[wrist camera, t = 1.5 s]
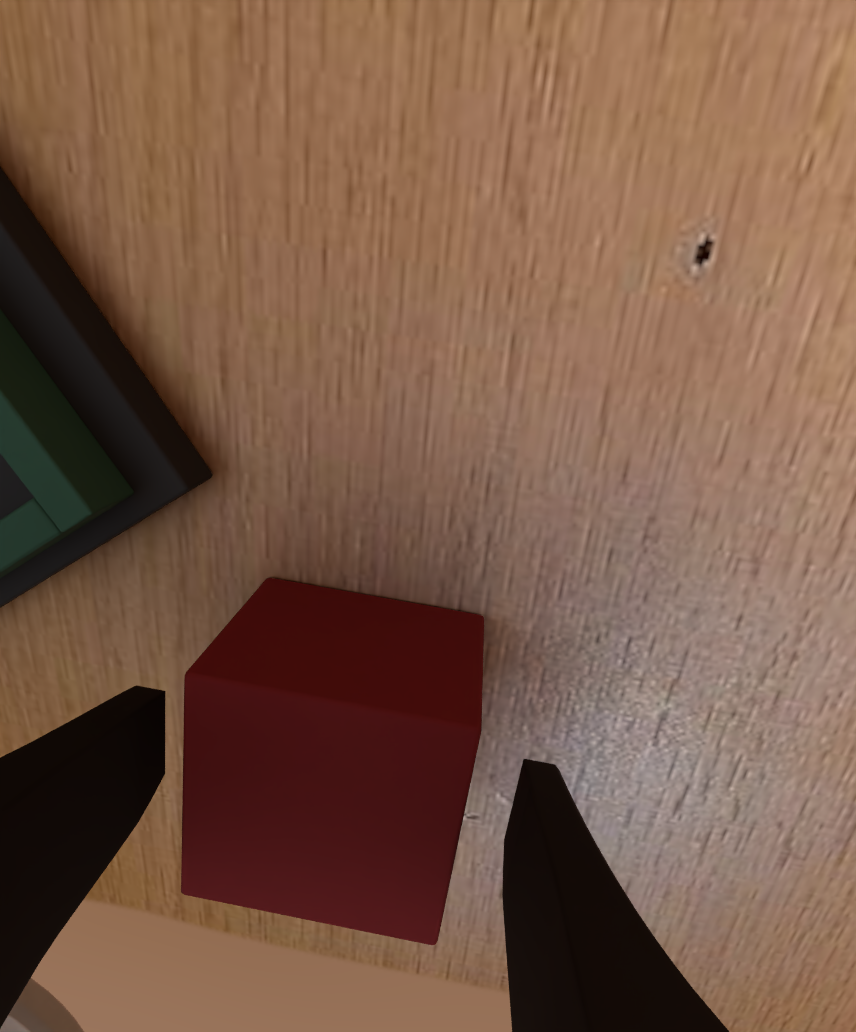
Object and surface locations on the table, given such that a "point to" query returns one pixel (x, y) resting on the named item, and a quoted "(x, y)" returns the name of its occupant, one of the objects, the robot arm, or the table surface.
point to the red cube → (332, 758)
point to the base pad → (71, 416)
